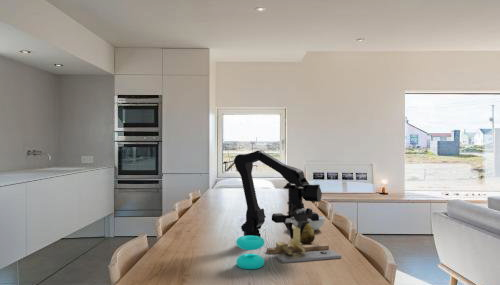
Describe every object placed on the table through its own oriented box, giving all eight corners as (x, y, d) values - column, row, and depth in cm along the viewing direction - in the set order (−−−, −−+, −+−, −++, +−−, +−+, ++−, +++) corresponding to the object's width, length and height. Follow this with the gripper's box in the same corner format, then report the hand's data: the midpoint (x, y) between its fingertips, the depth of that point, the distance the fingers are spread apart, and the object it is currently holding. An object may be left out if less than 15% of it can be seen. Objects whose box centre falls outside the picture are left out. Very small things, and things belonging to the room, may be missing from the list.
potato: (295, 244, 165) (295, 225, 165) (296, 237, 178) (296, 220, 178) (315, 244, 164) (314, 226, 164) (314, 237, 177) (314, 220, 177)
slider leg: (299, 254, 145) (299, 233, 145) (288, 246, 157) (288, 226, 157) (309, 253, 146) (309, 232, 146) (297, 245, 158) (297, 226, 158)
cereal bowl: (324, 234, 183) (324, 219, 183) (289, 233, 186) (289, 218, 186) (324, 227, 200) (324, 213, 200) (292, 225, 203) (292, 212, 203)
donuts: (236, 241, 131) (236, 234, 141) (236, 270, 130) (236, 261, 140) (265, 241, 131) (263, 234, 141) (265, 270, 131) (263, 261, 141)
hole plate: (282, 263, 139) (282, 260, 139) (275, 256, 146) (275, 253, 146) (341, 258, 145) (341, 255, 145) (331, 252, 153) (331, 249, 153)
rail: (275, 259, 143) (275, 250, 143) (266, 251, 154) (266, 243, 154) (338, 254, 149) (338, 246, 150) (324, 246, 161) (324, 239, 161)
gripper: (280, 203, 145) (280, 244, 145) (325, 202, 150) (325, 241, 150) (271, 199, 156) (271, 237, 156) (313, 198, 161) (313, 235, 160)
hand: (295, 238), depth 155 cm, fingers closed on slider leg, 3 cm apart
